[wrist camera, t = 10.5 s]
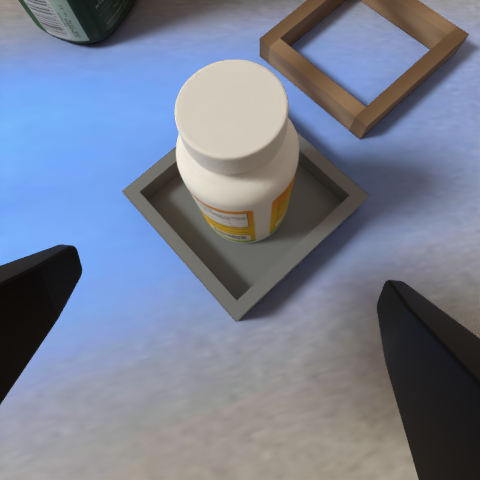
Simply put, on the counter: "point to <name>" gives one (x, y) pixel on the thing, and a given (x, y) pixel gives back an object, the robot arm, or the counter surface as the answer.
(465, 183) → the counter surface
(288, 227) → the tray
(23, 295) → the robot arm
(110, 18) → the coffee jar
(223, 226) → the supplement bottle
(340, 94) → the socket frame
